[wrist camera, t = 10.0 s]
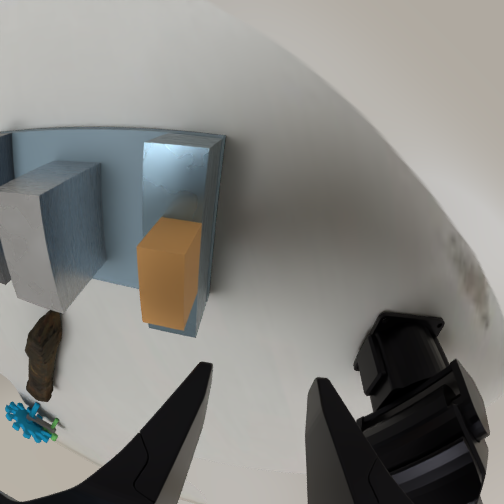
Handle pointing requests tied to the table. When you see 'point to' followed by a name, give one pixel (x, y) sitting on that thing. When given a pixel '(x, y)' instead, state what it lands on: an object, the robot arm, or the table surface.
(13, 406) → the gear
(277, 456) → the table surface
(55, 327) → the brown wooden stick
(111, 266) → the vise
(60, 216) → the steel block
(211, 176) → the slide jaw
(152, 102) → the table surface
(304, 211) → the table surface
